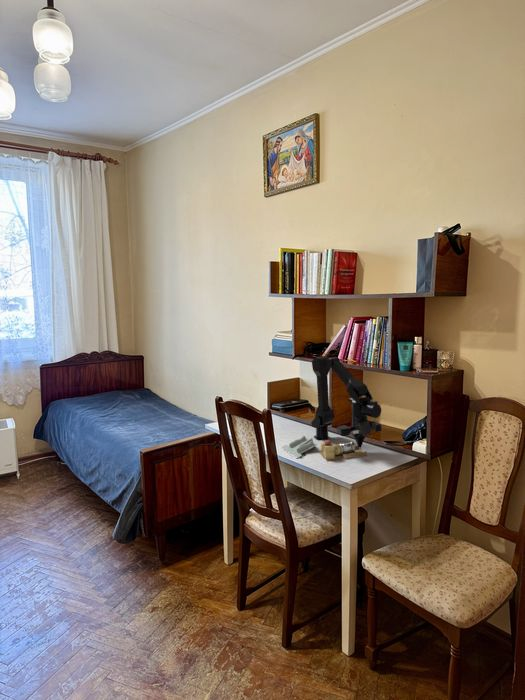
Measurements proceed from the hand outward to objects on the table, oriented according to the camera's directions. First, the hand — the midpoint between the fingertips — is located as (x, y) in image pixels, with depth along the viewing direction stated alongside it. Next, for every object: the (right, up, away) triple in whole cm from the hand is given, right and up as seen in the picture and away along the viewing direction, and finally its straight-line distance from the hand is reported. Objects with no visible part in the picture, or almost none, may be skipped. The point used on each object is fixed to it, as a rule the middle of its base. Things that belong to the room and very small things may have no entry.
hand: (359, 447), depth 206 cm
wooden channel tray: (-7, -3, -1) cm, 8 cm away
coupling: (-6, -3, -1) cm, 7 cm away
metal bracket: (-25, -4, +7) cm, 26 cm away
